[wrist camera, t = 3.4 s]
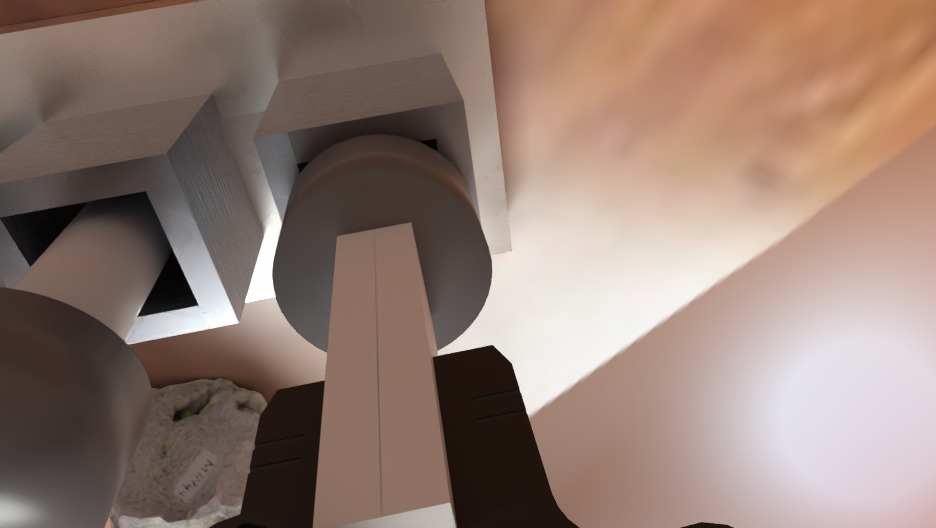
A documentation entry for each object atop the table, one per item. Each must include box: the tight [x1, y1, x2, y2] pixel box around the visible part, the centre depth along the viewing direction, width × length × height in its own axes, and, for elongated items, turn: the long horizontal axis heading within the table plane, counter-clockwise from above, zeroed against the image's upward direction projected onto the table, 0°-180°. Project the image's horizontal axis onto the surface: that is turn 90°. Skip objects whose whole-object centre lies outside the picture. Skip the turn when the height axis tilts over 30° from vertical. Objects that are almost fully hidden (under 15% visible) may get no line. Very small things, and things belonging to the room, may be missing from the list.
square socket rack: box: [0, 0, 512, 345], centre depth 18 cm, size 22×10×7 cm, turn 98°
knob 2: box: [272, 134, 492, 352], centre depth 17 cm, size 5×5×10 cm
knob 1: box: [0, 191, 173, 528], centre depth 13 cm, size 5×5×10 cm
